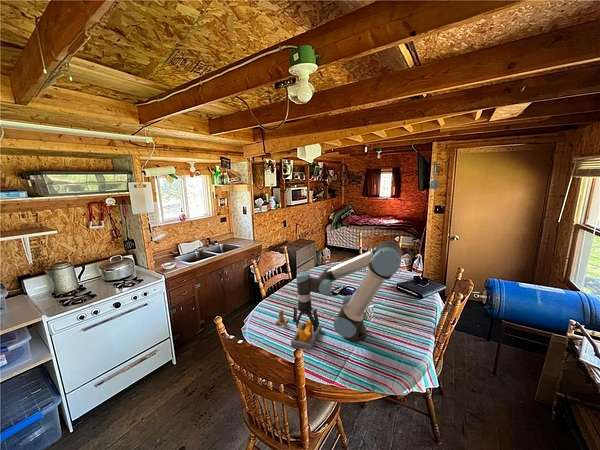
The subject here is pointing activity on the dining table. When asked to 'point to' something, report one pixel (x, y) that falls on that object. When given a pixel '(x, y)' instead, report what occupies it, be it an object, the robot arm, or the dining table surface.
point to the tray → (310, 342)
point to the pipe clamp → (305, 332)
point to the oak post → (281, 318)
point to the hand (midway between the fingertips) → (306, 334)
